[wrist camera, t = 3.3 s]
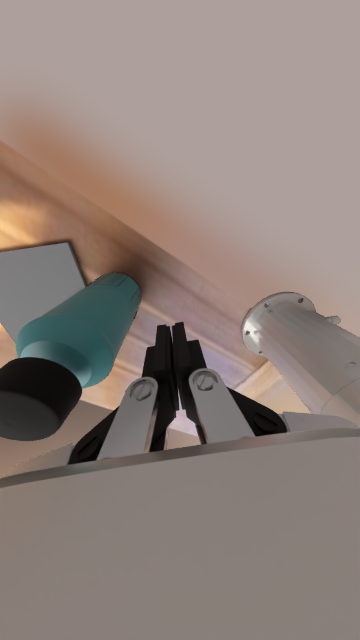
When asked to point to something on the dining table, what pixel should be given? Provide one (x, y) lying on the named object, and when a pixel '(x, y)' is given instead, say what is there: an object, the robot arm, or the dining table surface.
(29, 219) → the dining table surface
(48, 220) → the dining table surface
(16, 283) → the mat
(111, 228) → the dining table surface
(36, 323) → the beverage bottle
